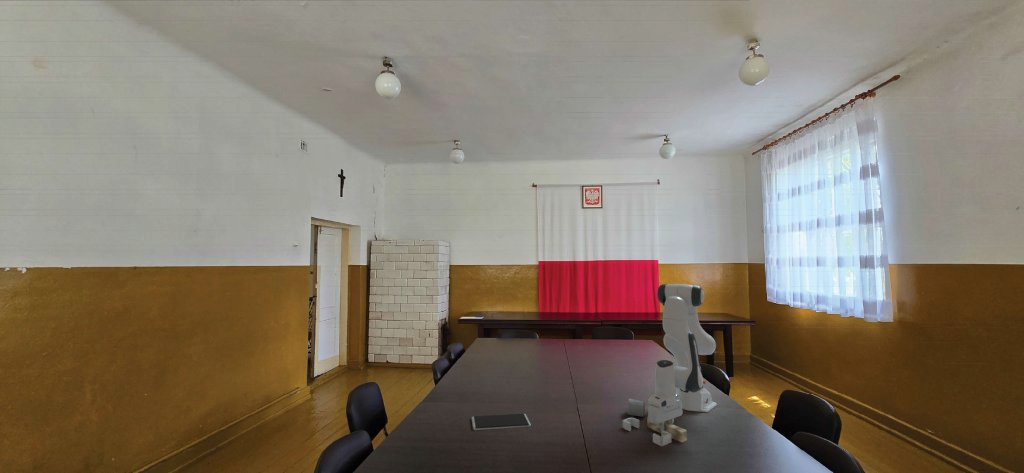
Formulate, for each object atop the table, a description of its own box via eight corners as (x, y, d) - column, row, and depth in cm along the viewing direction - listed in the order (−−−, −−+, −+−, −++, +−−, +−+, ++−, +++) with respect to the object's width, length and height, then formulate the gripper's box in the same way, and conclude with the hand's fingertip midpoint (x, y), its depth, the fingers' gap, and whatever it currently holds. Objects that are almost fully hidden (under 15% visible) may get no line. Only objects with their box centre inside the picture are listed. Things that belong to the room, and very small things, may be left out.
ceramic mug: (645, 419, 187) (645, 403, 188) (628, 417, 190) (627, 401, 190) (644, 411, 197) (644, 396, 198) (628, 409, 200) (627, 394, 200)
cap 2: (652, 442, 164) (652, 433, 164) (662, 438, 167) (662, 430, 167) (661, 446, 160) (661, 437, 160) (671, 442, 163) (671, 434, 164)
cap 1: (639, 428, 177) (639, 420, 178) (629, 431, 174) (629, 423, 174) (631, 424, 181) (631, 417, 181) (622, 427, 178) (622, 420, 178)
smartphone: (531, 428, 179) (531, 424, 179) (473, 431, 174) (473, 427, 175) (525, 416, 192) (525, 413, 192) (471, 419, 188) (471, 415, 188)
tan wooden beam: (647, 427, 179) (647, 417, 179) (652, 425, 181) (652, 415, 181) (681, 442, 163) (681, 432, 164) (686, 440, 165) (686, 430, 165)
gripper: (673, 391, 181) (674, 421, 180) (645, 400, 170) (645, 432, 169) (685, 395, 176) (686, 426, 175) (657, 404, 165) (658, 437, 164)
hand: (666, 429), depth 172 cm, fingers closed on tan wooden beam, 4 cm apart
